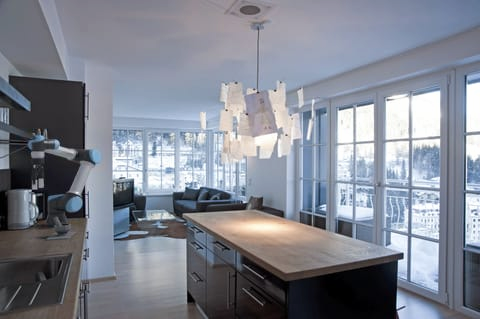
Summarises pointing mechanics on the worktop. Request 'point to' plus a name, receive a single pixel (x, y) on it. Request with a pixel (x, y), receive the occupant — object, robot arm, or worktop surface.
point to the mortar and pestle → (61, 227)
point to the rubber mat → (55, 237)
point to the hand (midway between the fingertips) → (37, 188)
